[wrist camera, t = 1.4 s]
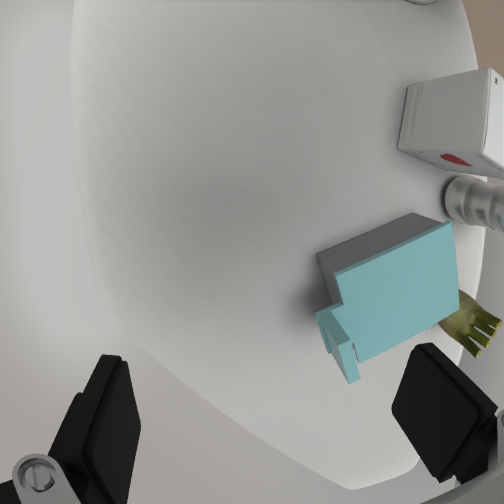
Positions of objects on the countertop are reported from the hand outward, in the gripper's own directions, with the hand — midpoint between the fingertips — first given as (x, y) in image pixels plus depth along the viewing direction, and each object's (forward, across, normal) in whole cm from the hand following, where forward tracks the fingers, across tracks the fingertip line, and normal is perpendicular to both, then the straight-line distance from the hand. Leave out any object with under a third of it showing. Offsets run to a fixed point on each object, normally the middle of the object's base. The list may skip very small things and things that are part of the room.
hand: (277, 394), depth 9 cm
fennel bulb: (+27, -32, +10) cm, 43 cm away
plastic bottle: (+27, -30, -5) cm, 41 cm away
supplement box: (+27, -24, -14) cm, 39 cm away
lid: (+21, -17, +6) cm, 27 cm away
